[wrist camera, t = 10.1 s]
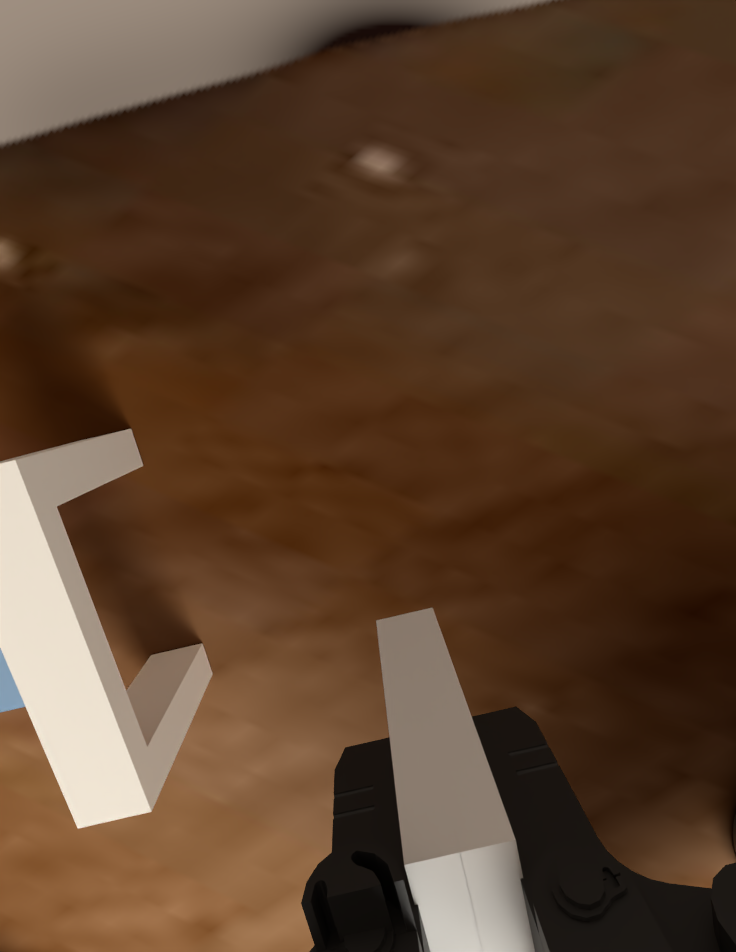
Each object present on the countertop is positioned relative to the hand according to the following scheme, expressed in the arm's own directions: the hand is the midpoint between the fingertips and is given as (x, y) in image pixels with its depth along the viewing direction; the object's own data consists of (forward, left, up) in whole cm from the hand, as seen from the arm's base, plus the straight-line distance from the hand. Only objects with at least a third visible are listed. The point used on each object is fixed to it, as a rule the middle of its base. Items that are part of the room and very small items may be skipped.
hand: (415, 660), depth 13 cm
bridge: (+13, 0, -14) cm, 19 cm away
